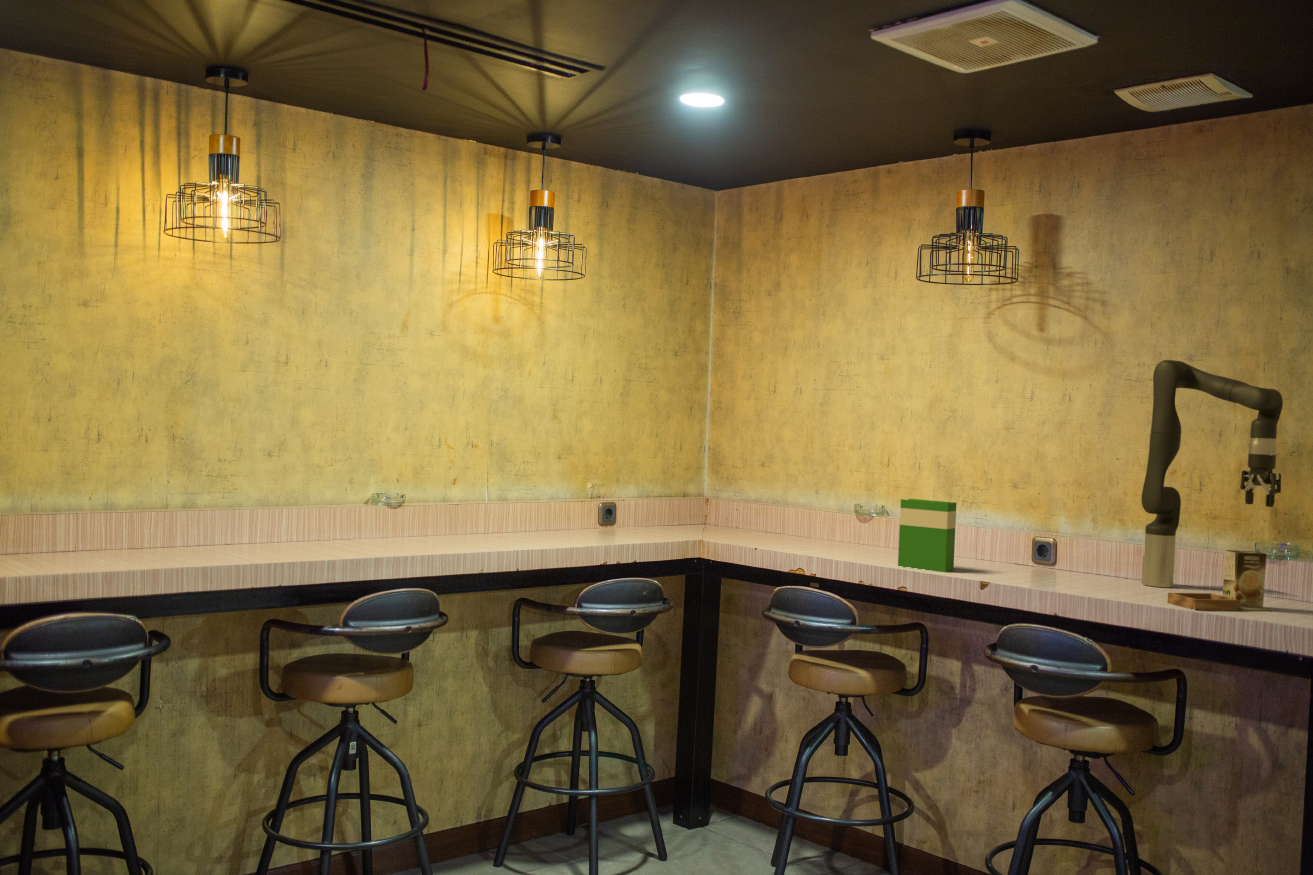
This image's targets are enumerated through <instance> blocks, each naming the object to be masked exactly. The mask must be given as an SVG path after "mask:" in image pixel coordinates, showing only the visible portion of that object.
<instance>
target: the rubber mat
mask: <svg viewBox="0 0 1313 875" xmlns="http://www.w3.org/2000/svg"><path fill="white" fill-rule="evenodd" d="M1241 610H1242V612H1274V609H1273V608H1268V607H1264V606H1263V607H1241V606H1240V610H1239V611H1241Z"/></svg>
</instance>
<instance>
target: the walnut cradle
mask: <svg viewBox="0 0 1313 875" xmlns="http://www.w3.org/2000/svg"><path fill="white" fill-rule="evenodd" d="M1167 604H1171V605H1175V606H1178V607H1181V606H1183V607H1182V608H1185V607H1187V608H1186V609H1189V608H1190V609H1189V610H1192V609H1199V610H1198V611H1224V610H1239V611H1241V610H1240V600H1236V599H1232V598H1228V597H1224V596H1223V595H1220V594H1216V593H1209V592H1207V593H1206V592H1203V593H1202V592H1201V593H1200V592H1168V593H1167Z"/></svg>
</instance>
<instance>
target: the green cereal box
mask: <svg viewBox="0 0 1313 875" xmlns="http://www.w3.org/2000/svg"><path fill="white" fill-rule="evenodd" d="M899 508H900V509H899V531H898V532H899V534H898V558H897V567H898V566H903V567H902V568H906V567H911V568H910V569H914V568H917V569H916V570H922V569H925V570H924V571H930V570H931V572H940V573H949V572H953V571H954V569H955V568H954V566H955V548H956V547H955V546H956V545H955V544H956V543H955V541H956V523H957V522H956V521H957V502H955V501H954V502H953V501H943V500H942V501H940V500H929V499H918V498H917V499H916V498H908V499H903V498H902V499H901V498H900V506H899Z"/></svg>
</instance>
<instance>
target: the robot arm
mask: <svg viewBox="0 0 1313 875" xmlns="http://www.w3.org/2000/svg"><path fill="white" fill-rule="evenodd" d="M1152 381H1153V383H1152V384H1153V385H1152V386H1153V388H1152V390H1153V392H1152V393H1153V403H1152V404H1153V405H1152V415H1151V427H1150V433H1149V434H1150V435H1149V450H1148V457H1147V465H1146V470H1145V477H1144V481H1143V486H1142V491H1141V506H1142V508H1143V511H1145V512H1146V513H1147V514H1150V515H1151V514H1152V515H1156V516H1155V519H1154V520H1152V521H1151V522H1149V523H1147V524H1146V525H1145V531H1144V532H1145V533H1144V534H1145V535H1144V550H1143V552H1144V554H1143V555H1142V561H1141V562H1142V563H1141V565H1142V566H1141V584H1142V585H1144V586H1149V587H1155V588H1173V587H1174V577H1175V576H1174V575H1175V558H1176V556H1175V555H1176V537H1177V536H1176V533H1177V530H1178V527H1179V526H1180V516H1181V505H1182V502H1181V499H1182V498H1181V495H1180V493H1179V491H1178V490H1177V488H1175V487H1173V486H1165V479H1166V478H1165V477H1166V474H1167V471H1168V470H1169V468H1170V466H1171V464H1172V462H1174V460H1175V459H1176V456H1177V455H1178V453H1179V451H1180V448H1181V439H1182V438H1181V436H1182V424H1181V420H1180V418H1179V415H1178V412H1177V408H1176V393H1177V389H1188V390H1196V391H1199V392H1202V393H1203V392H1204V393H1206V394H1208V395H1211V397H1214V398H1217V399H1220V400H1223V401H1226V402H1230V403H1234V404H1237V405H1238V404H1239V405H1241V406H1243V407H1245V408H1249V409H1251V410H1255V411H1258V412H1257V417H1256V418H1255V419H1253V420H1252V421H1251V423H1250V424H1251V425H1250V433H1249V434H1250V435H1249V436H1250V437H1249V443H1248V450H1247V451H1248V454H1247V468H1250V469H1249V470H1244V469H1243V470H1242V471H1241V477H1240V485H1239V486H1240V487H1239V488H1240V489H1241V490H1243V491H1244V492H1245V494H1244V496H1245V497H1244V501H1245V504H1246V505H1254V500H1255V499H1254V496H1255V493H1254V492H1255V490H1256V488H1258V487H1261V488H1262V489H1264V491H1265V493H1266V494H1265V507H1266V508H1273V507H1274V504H1275V496H1276V494H1280V493H1281V492H1282V474H1281V473H1280V472H1273V470H1274V469H1276V466H1277V463H1276V462H1277V448H1278V447H1277V434H1278V433H1277V430H1278V422H1279V420H1280V417H1281V414H1282V409H1283V407H1284V400H1283V396H1282V394H1281V392H1279V391H1278V390H1277V389H1274V388H1267V387H1266V388H1265V387H1260V386H1259V387H1258V386H1255V385H1250V384H1249V383H1247V382H1244V381H1241V380H1237V379H1234V378H1230V377H1229V378H1228V377H1226V376H1220V375H1217V374H1214V373H1213V374H1212V373H1209V372H1207V371H1203V370H1201V369H1199V368H1196V367H1195V366H1192V365H1190V364H1188V363H1186V362H1184V361H1181V360H1173V359H1165V360H1161V361H1160V362H1158V363H1157V364H1156V365H1155V367H1154V371H1153V377H1152Z"/></svg>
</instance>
